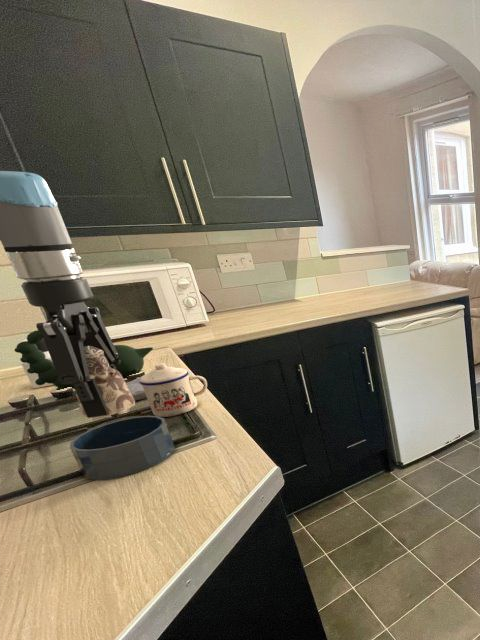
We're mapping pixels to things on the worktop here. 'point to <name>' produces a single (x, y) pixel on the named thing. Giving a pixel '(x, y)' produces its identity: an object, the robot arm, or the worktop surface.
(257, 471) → the worktop surface
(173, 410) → the teacup with lid
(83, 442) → the blue oval tub
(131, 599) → the worktop surface
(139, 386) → the stone block
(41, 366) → the toy figurine
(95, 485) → the worktop surface
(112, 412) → the figurine
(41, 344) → the container
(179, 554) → the worktop surface
